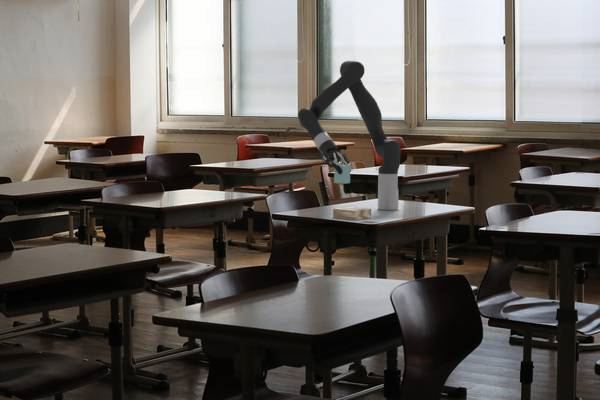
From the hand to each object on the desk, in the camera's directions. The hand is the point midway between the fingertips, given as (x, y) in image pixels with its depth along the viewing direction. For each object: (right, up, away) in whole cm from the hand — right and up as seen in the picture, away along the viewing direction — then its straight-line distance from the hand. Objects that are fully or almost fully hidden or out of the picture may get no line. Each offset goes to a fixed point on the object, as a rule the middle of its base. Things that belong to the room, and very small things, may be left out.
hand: (345, 172), depth 444 cm
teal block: (-1, -5, +2) cm, 5 cm away
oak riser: (+3, -20, -1) cm, 20 cm away
